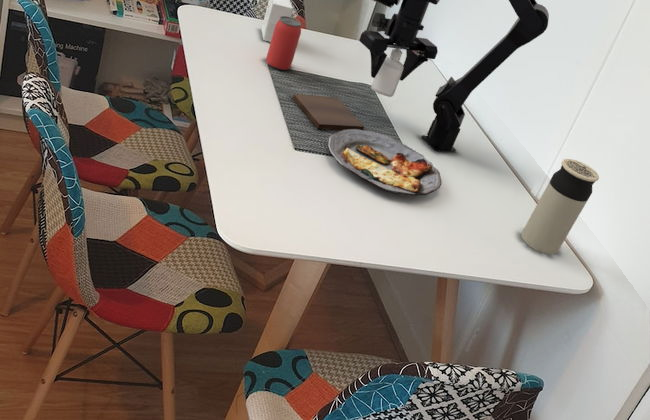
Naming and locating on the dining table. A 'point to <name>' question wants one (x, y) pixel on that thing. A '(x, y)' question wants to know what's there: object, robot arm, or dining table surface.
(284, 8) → the small box
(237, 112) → the dining table surface
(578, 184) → the travel mug
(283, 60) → the beer can
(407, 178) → the food plate
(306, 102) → the walnut board
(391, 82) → the eye dropper bottle
